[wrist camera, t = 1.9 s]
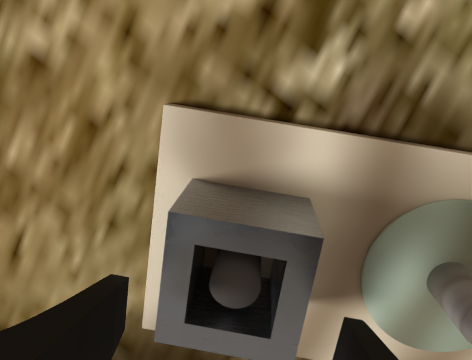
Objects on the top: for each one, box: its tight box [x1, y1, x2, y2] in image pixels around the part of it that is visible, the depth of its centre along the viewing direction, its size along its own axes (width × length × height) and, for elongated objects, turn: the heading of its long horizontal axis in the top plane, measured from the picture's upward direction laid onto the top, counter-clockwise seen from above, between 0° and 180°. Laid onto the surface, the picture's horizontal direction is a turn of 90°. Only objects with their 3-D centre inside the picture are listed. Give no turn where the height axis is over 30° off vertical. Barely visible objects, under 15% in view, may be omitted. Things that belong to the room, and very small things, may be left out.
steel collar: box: [154, 178, 324, 360], centre depth 16 cm, size 6×6×4 cm
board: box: [142, 103, 472, 360], centre depth 16 cm, size 19×12×6 cm, turn 81°
